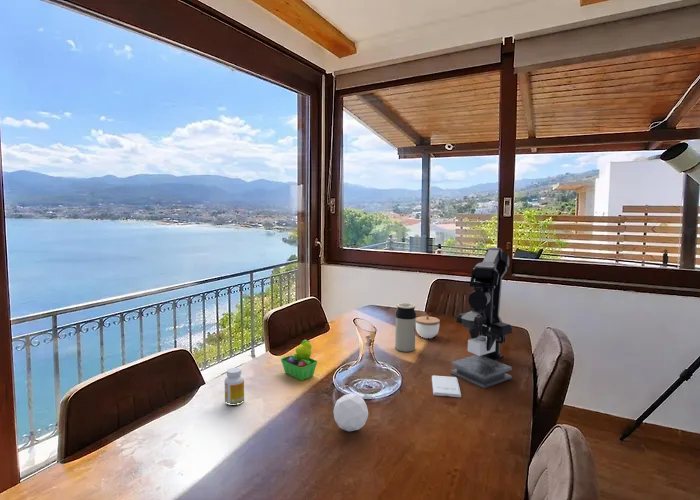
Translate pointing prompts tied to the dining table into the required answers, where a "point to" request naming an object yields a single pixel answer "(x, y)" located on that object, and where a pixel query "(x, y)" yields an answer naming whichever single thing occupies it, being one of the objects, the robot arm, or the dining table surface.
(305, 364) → the fruit basket
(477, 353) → the block
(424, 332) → the lidded jar
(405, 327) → the travel mug
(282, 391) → the dining table surface
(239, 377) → the supplement bottle
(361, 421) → the white low-poly ball
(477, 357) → the stand
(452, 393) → the external hard drive
